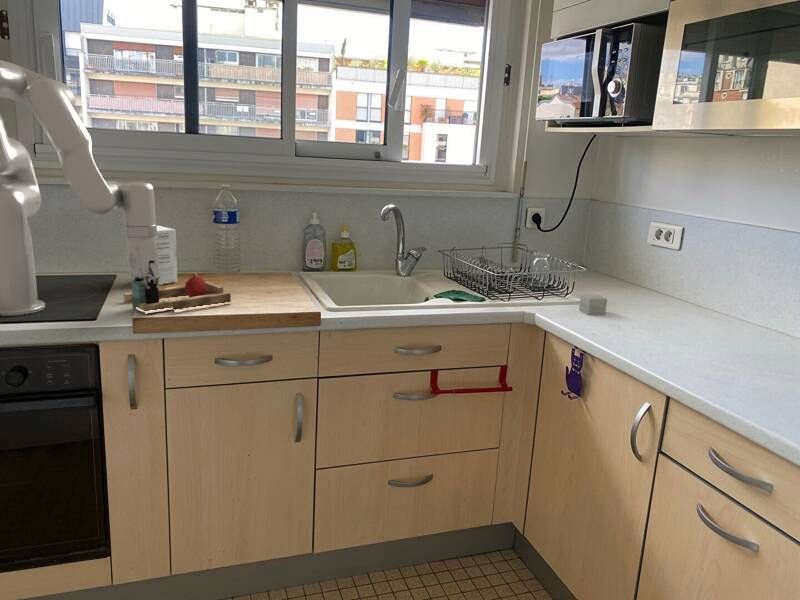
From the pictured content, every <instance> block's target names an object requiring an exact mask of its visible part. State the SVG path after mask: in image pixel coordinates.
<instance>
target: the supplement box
mask: <svg viewBox="0 0 800 600" xmlns="http://www.w3.org/2000/svg"><path fill="white" fill-rule="evenodd" d="M156 227H157V238H155V240H156V245H157V251H158V259H159V276H160V278H159V280H158V281H159V282H158V284H163V283H172V282H177V283H178V266H177V265H178V264H177V263H178V261H177V237H176V236H177V233H176V229H174V228H170V227H166V226H162V225H156ZM147 276H152V275H150V274H148V275H147ZM150 280H152V279H148V281H150Z"/></svg>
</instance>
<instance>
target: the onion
mask: <svg viewBox="0 0 800 600" xmlns="http://www.w3.org/2000/svg"><path fill="white" fill-rule="evenodd" d="M205 282H206V281H205V280H204V279H203V278H201V277H200V276H199V275H198V273H196V272H195V273H194V274H192V276H191V277H190V278H189V279H187V281H186V283H185V284H184V285H185V292H186V294H187V295H188V296H189V297H195V296H202V295H205V294H206V292H207V286H206V283H205Z"/></svg>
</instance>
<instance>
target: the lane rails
mask: <svg viewBox="0 0 800 600" xmlns="http://www.w3.org/2000/svg"><path fill="white" fill-rule="evenodd" d="M158 295H159V299H161V298H169V297H178V296H187V294H186V292H185V287H178V288H170V289H163V288H162V289H158ZM231 297H232V295H231V293H230V292H226V293H225V292H223V294H217V295H210V296H203V297H197V298H190V299H183V300H177V301H173V309H175V310H176V309H183V308H189V307H196V306H203V305H211V304H218V303H225V302H231V303H232V298H231Z"/></svg>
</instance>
